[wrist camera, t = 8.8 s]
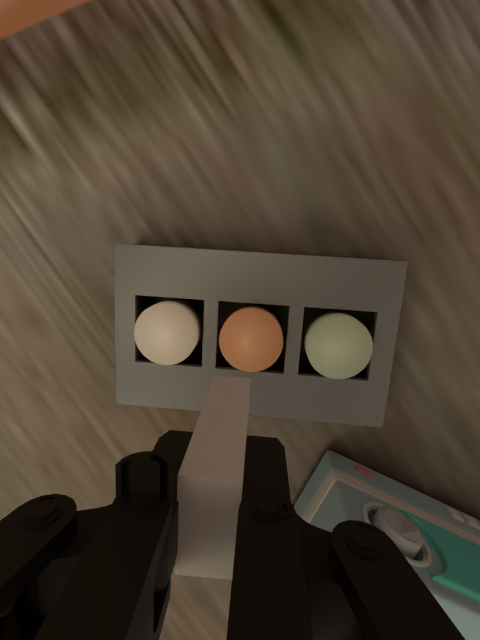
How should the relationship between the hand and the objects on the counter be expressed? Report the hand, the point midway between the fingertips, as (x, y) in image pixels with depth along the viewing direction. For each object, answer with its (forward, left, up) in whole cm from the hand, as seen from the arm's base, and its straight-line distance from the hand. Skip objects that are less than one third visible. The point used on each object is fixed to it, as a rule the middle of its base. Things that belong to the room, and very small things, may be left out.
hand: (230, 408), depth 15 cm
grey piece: (0, 0, -15) cm, 15 cm away
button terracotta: (0, 0, -13) cm, 13 cm away
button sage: (+6, 0, -13) cm, 14 cm away
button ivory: (-6, 0, -13) cm, 14 cm away
